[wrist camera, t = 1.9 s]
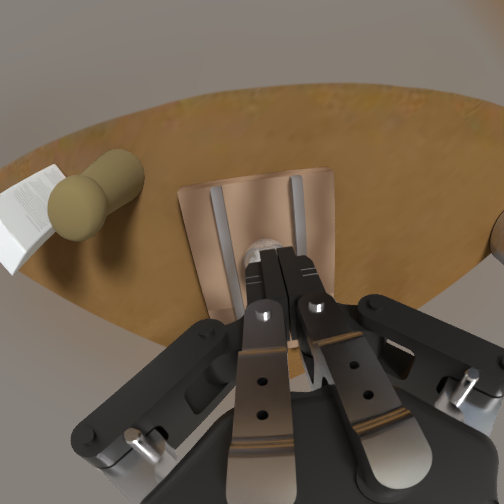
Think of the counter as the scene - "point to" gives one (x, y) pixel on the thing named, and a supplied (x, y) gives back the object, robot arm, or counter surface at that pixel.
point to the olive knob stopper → (94, 194)
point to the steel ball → (254, 249)
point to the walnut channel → (257, 229)
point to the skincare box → (26, 217)
